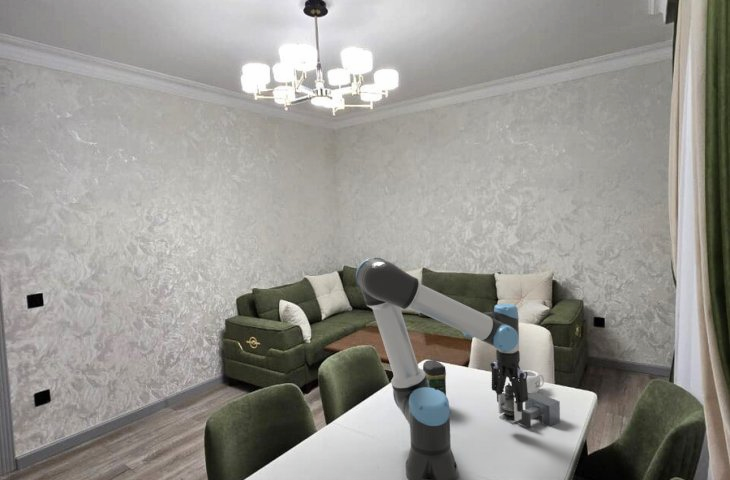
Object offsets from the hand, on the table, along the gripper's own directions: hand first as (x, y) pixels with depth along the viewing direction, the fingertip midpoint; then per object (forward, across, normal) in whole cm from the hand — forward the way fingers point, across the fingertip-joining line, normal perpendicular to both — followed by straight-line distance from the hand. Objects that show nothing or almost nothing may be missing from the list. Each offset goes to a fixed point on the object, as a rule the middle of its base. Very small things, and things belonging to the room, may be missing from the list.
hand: (510, 415), depth 139 cm
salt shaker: (+1, 0, 0) cm, 1 cm away
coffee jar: (+6, +29, +8) cm, 31 cm away
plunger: (+5, +3, -11) cm, 13 cm away
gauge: (+6, +2, -13) cm, 15 cm away
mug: (+7, +17, -36) cm, 40 cm away
